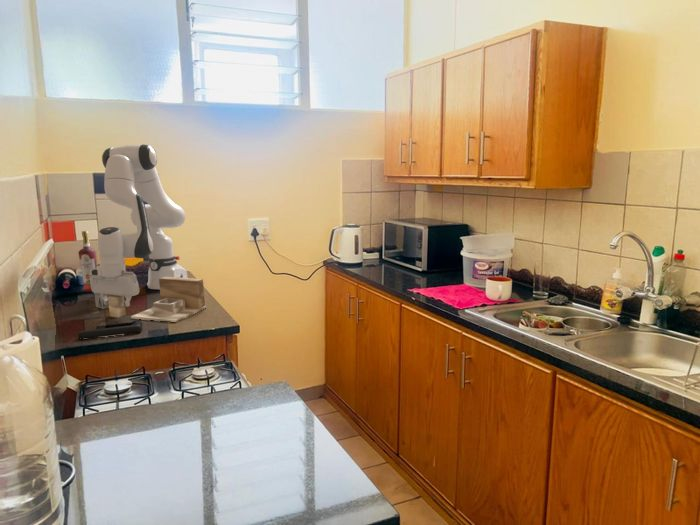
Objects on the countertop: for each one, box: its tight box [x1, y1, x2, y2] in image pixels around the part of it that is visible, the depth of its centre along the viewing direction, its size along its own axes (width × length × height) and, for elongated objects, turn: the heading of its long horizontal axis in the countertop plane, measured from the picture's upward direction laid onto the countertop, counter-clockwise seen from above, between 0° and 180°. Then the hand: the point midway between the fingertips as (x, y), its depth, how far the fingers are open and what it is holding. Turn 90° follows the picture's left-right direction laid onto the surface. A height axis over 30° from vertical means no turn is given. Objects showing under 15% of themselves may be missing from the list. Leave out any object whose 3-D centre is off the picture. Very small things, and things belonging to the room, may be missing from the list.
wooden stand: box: [130, 277, 207, 322], centre depth 207 cm, size 20×20×12 cm
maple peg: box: [108, 295, 127, 318], centre depth 205 cm, size 4×4×8 cm
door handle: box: [77, 319, 143, 340], centre depth 187 cm, size 3×20×16 cm
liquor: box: [78, 230, 98, 293], centre depth 243 cm, size 7×7×28 cm
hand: (116, 305), depth 205 cm, fingers open, 8 cm apart
